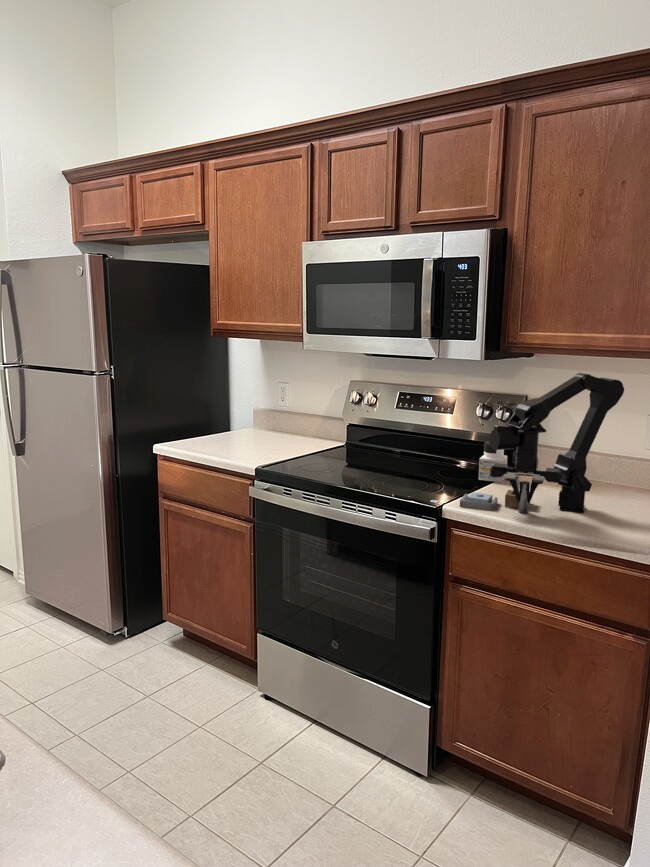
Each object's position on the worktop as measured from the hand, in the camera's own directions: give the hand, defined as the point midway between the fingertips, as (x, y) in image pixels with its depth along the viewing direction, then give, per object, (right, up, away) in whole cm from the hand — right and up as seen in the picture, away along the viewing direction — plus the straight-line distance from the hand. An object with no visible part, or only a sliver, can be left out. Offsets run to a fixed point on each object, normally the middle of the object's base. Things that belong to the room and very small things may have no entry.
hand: (523, 502), depth 186 cm
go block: (+1, -2, +8) cm, 8 cm away
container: (+1, +4, +38) cm, 38 cm away
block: (-11, -2, +8) cm, 14 cm away
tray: (-11, -2, +8) cm, 14 cm away
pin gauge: (0, -3, +1) cm, 3 cm away
